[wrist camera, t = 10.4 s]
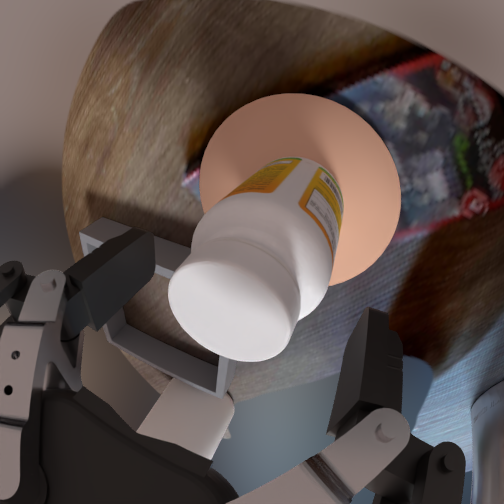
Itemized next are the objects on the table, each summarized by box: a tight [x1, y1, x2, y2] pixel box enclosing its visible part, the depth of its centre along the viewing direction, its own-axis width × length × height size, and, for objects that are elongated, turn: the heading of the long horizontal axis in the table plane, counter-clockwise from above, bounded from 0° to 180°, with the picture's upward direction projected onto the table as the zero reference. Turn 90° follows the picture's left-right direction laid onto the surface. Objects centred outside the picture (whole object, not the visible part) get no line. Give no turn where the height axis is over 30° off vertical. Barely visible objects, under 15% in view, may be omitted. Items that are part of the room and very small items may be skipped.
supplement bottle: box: [168, 157, 344, 362], centre depth 12 cm, size 5×5×10 cm
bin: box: [79, 217, 237, 399], centre depth 25 cm, size 15×15×3 cm
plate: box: [199, 93, 401, 286], centre depth 16 cm, size 12×12×1 cm
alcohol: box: [137, 378, 234, 460], centre depth 21 cm, size 9×9×30 cm
